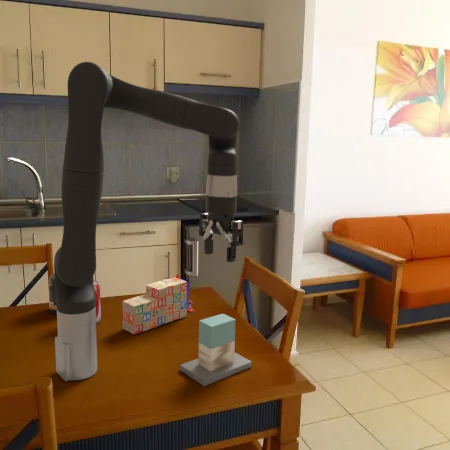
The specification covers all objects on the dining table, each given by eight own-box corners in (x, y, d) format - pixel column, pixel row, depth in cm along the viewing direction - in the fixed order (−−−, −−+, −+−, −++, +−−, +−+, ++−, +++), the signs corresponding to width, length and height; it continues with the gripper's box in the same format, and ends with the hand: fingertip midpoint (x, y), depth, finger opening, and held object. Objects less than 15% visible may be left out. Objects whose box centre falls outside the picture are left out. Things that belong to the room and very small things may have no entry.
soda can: (83, 328, 147) (82, 288, 145) (73, 320, 152) (72, 281, 150) (104, 322, 152) (104, 283, 149) (94, 315, 157) (93, 277, 154)
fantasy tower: (160, 302, 171) (160, 270, 169) (193, 301, 173) (193, 269, 171) (161, 314, 160) (161, 280, 158) (196, 313, 162) (197, 279, 160)
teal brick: (211, 349, 119) (211, 326, 118) (198, 342, 123) (199, 320, 122) (234, 340, 124) (235, 319, 123) (222, 334, 128) (222, 313, 127)
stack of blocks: (134, 335, 143) (134, 296, 140) (122, 328, 147) (121, 291, 144) (187, 316, 158) (187, 281, 156) (174, 310, 163) (175, 276, 160)
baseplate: (204, 386, 116) (204, 380, 116) (180, 370, 123) (180, 364, 123) (251, 366, 126) (251, 361, 126) (226, 352, 134) (227, 348, 133)
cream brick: (210, 371, 120) (211, 349, 119) (198, 363, 124) (198, 342, 123) (234, 362, 125) (234, 340, 124) (221, 355, 129) (222, 334, 128)
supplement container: (45, 308, 162) (43, 274, 160) (75, 302, 168) (74, 269, 166) (54, 318, 154) (53, 282, 152) (86, 311, 160) (85, 277, 158)
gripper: (191, 190, 119) (190, 253, 122) (229, 198, 108) (226, 266, 111) (214, 189, 123) (213, 249, 127) (252, 196, 113) (250, 261, 116)
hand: (219, 257), depth 119 cm, fingers open, 8 cm apart
